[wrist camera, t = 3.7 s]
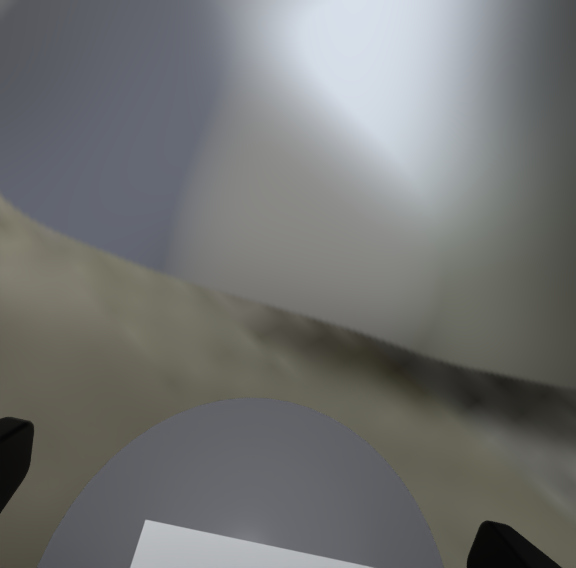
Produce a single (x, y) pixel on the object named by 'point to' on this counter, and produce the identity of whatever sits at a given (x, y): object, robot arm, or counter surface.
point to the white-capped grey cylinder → (245, 497)
